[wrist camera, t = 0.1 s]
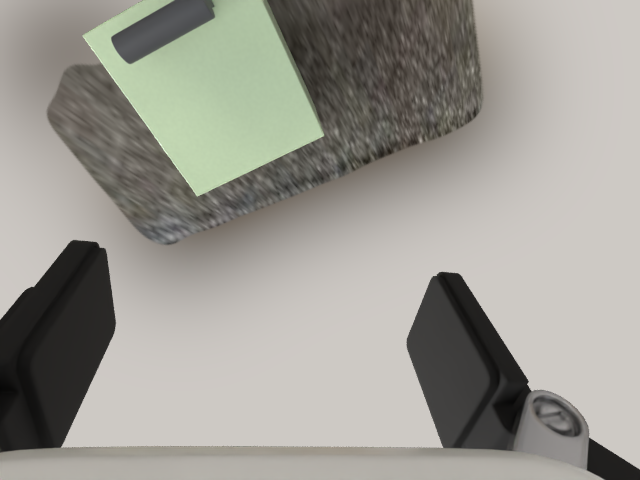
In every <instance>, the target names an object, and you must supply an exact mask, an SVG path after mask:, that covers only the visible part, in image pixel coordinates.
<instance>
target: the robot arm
mask: <svg viewBox="0 0 640 480" xmlns="http://www.w3.org/2000/svg"><path fill="white" fill-rule="evenodd" d="M115 325H116V320H115V313H114V306H113V298H112V290H111V283H110V275H109V267H108V261H107V253H106V250H105V249H104V248H100V247H99V244H98V243H97V242H89V241H78V240H73V241H71V242H70V243H69V244H68V245H67V247H66V248H65V249H64V250H63V252H62V253H61V254H60V255H59V257H58V258H57V259H56V260H55V262H54V263H53V264H52V265H51V267H50V268H49V269H48V270H47V272H46V273H45V274H44V275H43V277H42V278H41V279H40V280H39V282H38V283H37V284H36V285H35V287H30V288H28V289H26V290H25V291H24V292H23V293H22V294H21V296H20V297H19V298H18V299H17V300H16V302H15V303H14V304H13V305H12V306H11V308H10V309H9V310H8V311H7V313H6V314H5V315H4V316H3V317H2V319H1V320H0V480H640V470H639V469H638V468H636V467H635V466H633V465H631V464H630V463H628V462H627V461H625V460H624V459H622V458H620V457H619V456H617V455H616V454H614V453H613V452H611V451H609V450H608V449H606V448H605V447H603V446H602V445H600V444H598V443H597V442H595V441H594V440H592V439H590V438H589V429H588V425H587V423H586V421H585V419H584V417H583V416H582V415H581V414H580V412H579V411H578V410H577V409H576V408H575V407H574V406H573V405H572V404H571V403H570V402H568V401H567V400H565V399H564V398H562V397H561V396H559V395H557V394H554V393H552V392H549V391H545V390H534V391H531V390H530V388H529V386H528V385H527V383H528V382H529V381H528V379H527V378H526V376H525V375H524V373H523V372H522V370H521V369H520V367H519V365H518V364H517V362H516V361H515V359H514V358H513V356H512V354H511V353H510V351H509V350H508V348H507V347H506V345H505V344H504V342H503V341H502V339H501V338H500V336H499V334H498V333H497V331H496V330H495V328H494V326H493V325H492V323H491V322H490V320H489V319H488V317H487V316H486V314H485V312H484V311H483V309H482V308H481V306H480V305H479V303H478V302H477V300H476V298H475V297H474V295H473V294H472V292H471V291H470V289H469V287H468V286H467V284H466V283H465V281H464V280H463V278H462V276H461V275H460V274H458V273H448V272H439V273H438V274H437V276H433V277H432V279H431V280H430V283H429V285H428V288H427V290H426V293H425V295H424V298H423V300H422V303H421V305H420V308H419V310H418V313H417V315H416V318H415V320H414V323H413V325H412V328H411V330H410V332H409V335H408V338H407V349H408V352H409V355H410V358H411V360H412V363H413V366H414V369H415V371H416V374H417V377H418V380H419V383H420V385H421V388H422V390H423V394H424V396H425V399H426V402H427V405H428V407H429V410H430V413H431V416H432V418H433V421H434V424H435V426H436V429H437V432H438V435H439V437H440V440H441V443H442V446H443V448H405V447H256V446H255V447H254V446H253V447H251V446H243V447H240V446H233V447H232V446H230V447H229V446H222V447H220V446H219V447H218V446H217V447H216V446H215V447H213V446H211V447H210V446H198V447H197V446H195V447H194V446H188V447H187V446H184V447H183V446H180V447H179V446H170V447H169V446H167V447H166V446H164V447H163V446H162V447H161V446H155V447H153V446H151V447H148V446H147V447H146V446H145V447H144V446H141V447H139V446H138V447H80V448H79V447H74V448H73V447H72V448H61V446H62V444H63V442H64V440H65V438H66V436H67V434H68V432H69V429H70V427H71V425H72V423H73V421H74V419H75V417H76V414H77V412H78V410H79V408H80V406H81V404H82V401H83V399H84V397H85V395H86V393H87V391H88V388H89V386H90V384H91V382H92V380H93V378H94V375H95V373H96V371H97V369H98V367H99V365H100V362H101V360H102V358H103V356H104V354H105V352H106V350H107V348H108V345H109V343H110V341H111V339H112V337H113V334H114V331H115Z"/></svg>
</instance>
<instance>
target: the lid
mask: <svg viewBox="0 0 640 480" xmlns="http://www.w3.org/2000/svg"><path fill="white" fill-rule="evenodd" d="M83 37H84V39H85V40H86V41H87V43H88V44H89V45H90V47H91V48H92V50H93V51H94V53H95V54H96V55H97V57H98V58H99V60H100V61H101V62H102V64H103V65H104V67H105V68H106V69H107V71H108V72H109V74H110V75H111V76H112V78H113V79H114V81H115V82H116V83H117V85H118V86H119V88H120V89H121V90H122V92H123V93H124V94H125V96H126V97H127V99H128V100H129V101H130V103H131V104H132V106H133V107H134V108H135V110H136V111H137V113H138V114H139V115H140V117H141V118H142V120H143V121H144V122H145V124H146V125H147V127H148V128H149V129H150V131H151V132H152V134H153V135H154V136H155V138H156V139H157V141H158V142H159V143H160V145H161V146H162V148H163V149H164V150H165V152H166V153H167V155H168V156H169V157H170V159H171V160H172V162H173V163H174V164H175V166H176V167H177V169H178V170H179V171H180V173H181V174H182V175H183V177H184V178H185V180H186V181H187V182H188V184H189V185H190V187H191V188H192V189H193V191H194V192H195V194H196V195H197V196H199V195H202V194H204V193H206V192H208V191H210V190H212V189H214V188H216V187H218V186H220V185H222V184H225V183H227V182H229V181H231V180H233V179H235V178H237V177H239V176H241V175H243V174H245V173H248V172H250V171H252V170H254V169H256V168H258V167H260V166H262V165H264V164H266V163H268V162H271V161H273V160H275V159H277V158H279V157H281V156H283V155H285V154H287V153H289V152H291V151H294V150H296V149H298V148H300V147H302V146H304V145H306V144H308V143H310V142H312V141H314V140H317V139H319V138H321V137H323V136H324V133H323V130H322V128H321V126H320V124H319V122H318V119H317V117H316V115H315V113H314V111H313V109H312V106H311V104H310V102H309V100H308V98H307V96H306V93H305V91H304V89H303V87H302V85H301V82H300V80H299V78H298V76H297V74H296V72H295V69H294V67H293V65H292V63H291V61H290V58H289V56H288V54H287V52H286V50H285V48H284V45H283V43H282V41H281V39H280V37H279V35H278V32H277V30H276V28H275V26H274V24H273V21H272V19H271V17H270V15H269V13H268V11H267V8H266V6H265V4H264V2H263V0H142V1H141V2H139V3H138V4H136V5H134V6H132V7H130V8H129V9H127V10H125V11H123V12H122V13H120V14H118V15H117V16H115V17H113V18H111V19H110V20H108V21H106V22H104V23H103V24H101V25H99V26H97V27H96V28H94V29H92V30H91V31H89V32H87V33H85V34H84V35H83Z"/></svg>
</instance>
